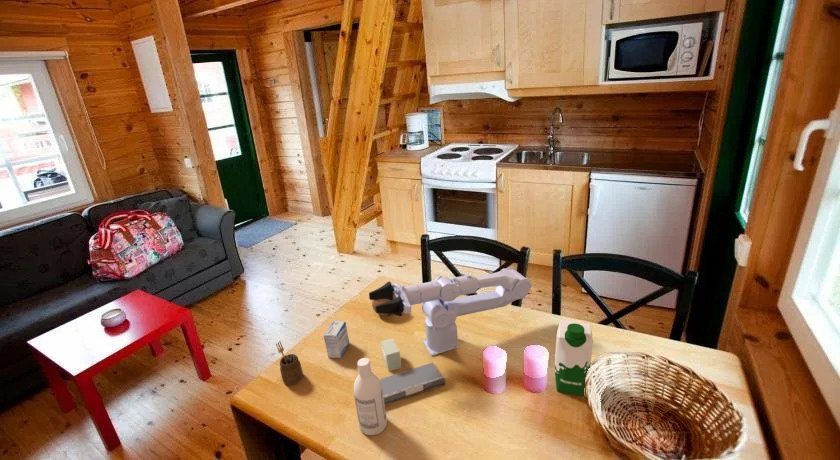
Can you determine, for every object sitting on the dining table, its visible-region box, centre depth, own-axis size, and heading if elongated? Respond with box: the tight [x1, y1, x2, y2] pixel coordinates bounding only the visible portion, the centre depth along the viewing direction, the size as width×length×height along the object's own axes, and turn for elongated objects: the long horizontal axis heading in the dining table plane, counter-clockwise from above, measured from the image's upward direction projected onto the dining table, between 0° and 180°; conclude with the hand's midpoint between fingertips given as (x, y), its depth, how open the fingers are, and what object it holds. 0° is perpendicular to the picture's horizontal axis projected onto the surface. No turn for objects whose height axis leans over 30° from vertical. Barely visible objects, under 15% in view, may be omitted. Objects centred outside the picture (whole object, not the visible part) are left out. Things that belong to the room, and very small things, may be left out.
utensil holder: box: [275, 341, 304, 386], centre depth 118 cm, size 6×6×12 cm
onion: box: [371, 294, 396, 317], centre depth 148 cm, size 10×9×10 cm
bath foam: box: [352, 357, 388, 436], centre depth 99 cm, size 7×7×20 cm
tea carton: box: [379, 337, 402, 372], centre depth 123 cm, size 4×7×6 cm, turn 20°
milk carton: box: [554, 319, 594, 397], centre depth 106 cm, size 9×9×20 cm
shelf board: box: [379, 362, 446, 406], centre depth 114 cm, size 20×9×2 cm, turn 110°
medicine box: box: [323, 320, 350, 359], centre depth 130 cm, size 8×4×9 cm, turn 168°
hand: (372, 302), depth 116 cm, fingers open, 7 cm apart
